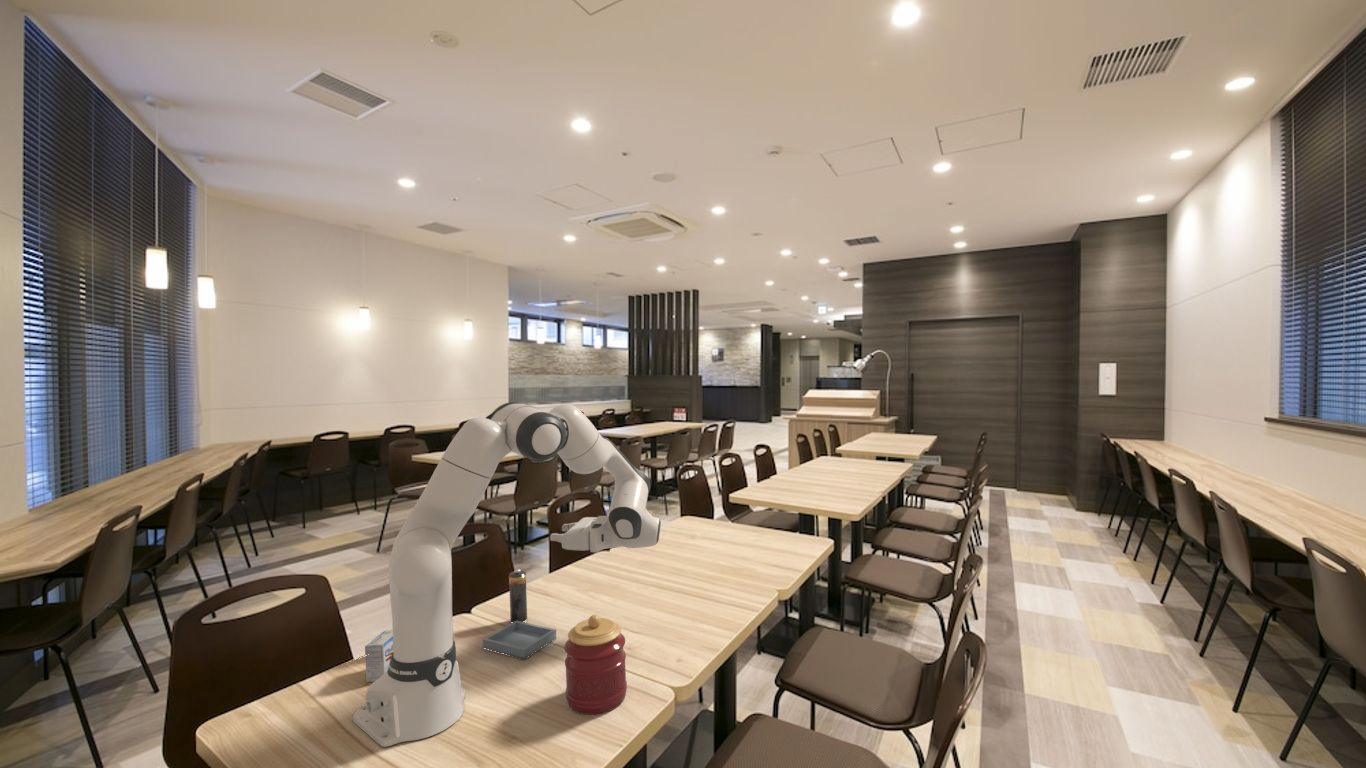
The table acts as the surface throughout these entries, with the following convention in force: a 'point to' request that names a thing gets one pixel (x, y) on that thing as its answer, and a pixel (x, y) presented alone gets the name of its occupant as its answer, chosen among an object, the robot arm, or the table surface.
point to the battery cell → (518, 595)
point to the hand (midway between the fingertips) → (557, 532)
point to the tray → (519, 639)
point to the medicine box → (378, 655)
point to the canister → (595, 666)
